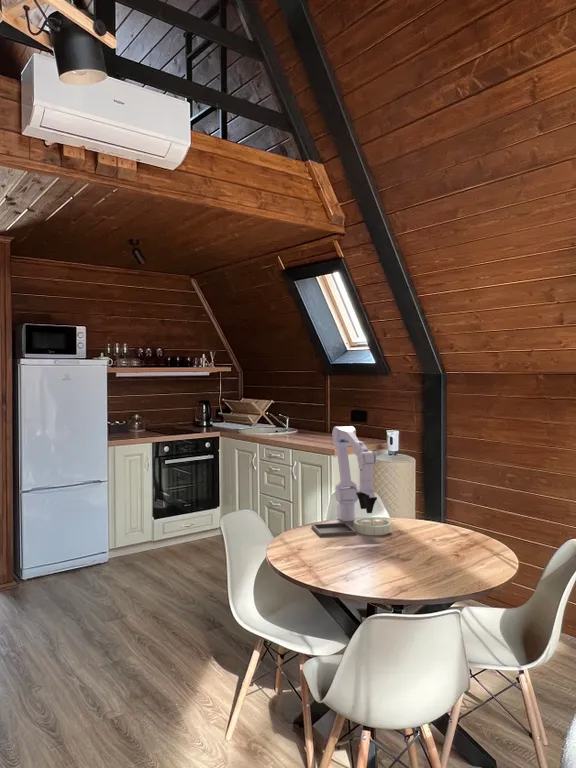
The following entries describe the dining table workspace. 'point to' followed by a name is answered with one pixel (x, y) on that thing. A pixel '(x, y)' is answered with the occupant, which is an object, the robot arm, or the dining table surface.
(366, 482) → the robot arm
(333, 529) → the tray
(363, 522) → the pebble
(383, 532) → the bowl
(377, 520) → the pebble
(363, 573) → the dining table surface
